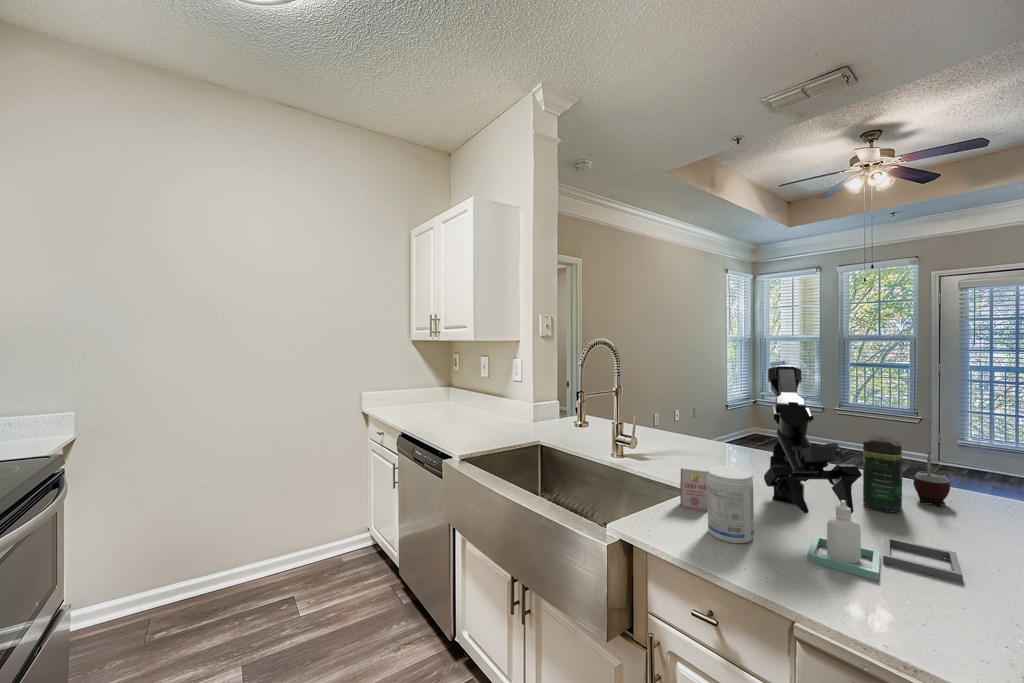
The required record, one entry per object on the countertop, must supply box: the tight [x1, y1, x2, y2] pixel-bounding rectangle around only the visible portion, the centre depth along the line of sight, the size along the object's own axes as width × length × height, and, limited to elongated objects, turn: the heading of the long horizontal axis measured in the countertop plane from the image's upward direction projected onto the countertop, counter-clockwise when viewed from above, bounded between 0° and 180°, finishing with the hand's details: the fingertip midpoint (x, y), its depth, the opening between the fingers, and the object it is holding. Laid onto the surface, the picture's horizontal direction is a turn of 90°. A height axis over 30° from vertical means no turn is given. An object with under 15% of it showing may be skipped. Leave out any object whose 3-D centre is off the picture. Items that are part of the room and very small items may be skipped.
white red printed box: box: [679, 468, 708, 512], centre depth 115 cm, size 4×7×10 cm, turn 63°
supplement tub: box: [707, 465, 755, 544], centre depth 98 cm, size 10×10×15 cm
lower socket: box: [806, 534, 881, 582], centre depth 87 cm, size 11×11×2 cm
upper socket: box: [882, 535, 964, 584], centre depth 86 cm, size 11×11×2 cm
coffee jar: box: [862, 435, 903, 513], centre depth 114 cm, size 10×8×19 cm
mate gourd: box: [913, 451, 951, 509], centre depth 115 cm, size 8×8×15 cm
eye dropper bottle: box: [826, 500, 862, 564], centre depth 87 cm, size 4×6×12 cm
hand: (829, 512), depth 91 cm, fingers open, 9 cm apart
